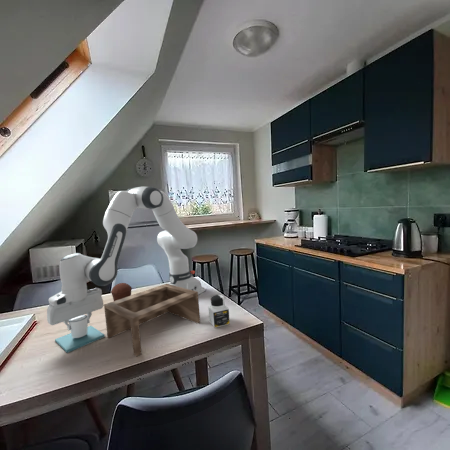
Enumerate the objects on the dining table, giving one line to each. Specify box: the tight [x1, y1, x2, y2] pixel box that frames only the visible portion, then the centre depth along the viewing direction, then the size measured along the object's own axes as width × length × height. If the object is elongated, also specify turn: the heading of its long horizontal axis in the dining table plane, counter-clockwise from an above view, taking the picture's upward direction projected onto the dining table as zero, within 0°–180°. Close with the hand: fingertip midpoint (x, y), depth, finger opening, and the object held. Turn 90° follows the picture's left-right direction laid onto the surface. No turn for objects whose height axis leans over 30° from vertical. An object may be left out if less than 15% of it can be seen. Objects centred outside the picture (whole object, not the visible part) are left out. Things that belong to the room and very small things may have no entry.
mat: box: [54, 325, 105, 354], centre depth 104 cm, size 14×14×1 cm
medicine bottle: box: [207, 294, 231, 329], centre depth 111 cm, size 7×7×12 cm
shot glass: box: [68, 314, 89, 338], centre depth 104 cm, size 7×7×7 cm
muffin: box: [110, 282, 133, 301], centre depth 146 cm, size 12×11×10 cm
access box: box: [103, 283, 201, 357], centre depth 108 cm, size 31×23×14 cm
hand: (78, 326), depth 104 cm, fingers closed on shot glass, 5 cm apart
